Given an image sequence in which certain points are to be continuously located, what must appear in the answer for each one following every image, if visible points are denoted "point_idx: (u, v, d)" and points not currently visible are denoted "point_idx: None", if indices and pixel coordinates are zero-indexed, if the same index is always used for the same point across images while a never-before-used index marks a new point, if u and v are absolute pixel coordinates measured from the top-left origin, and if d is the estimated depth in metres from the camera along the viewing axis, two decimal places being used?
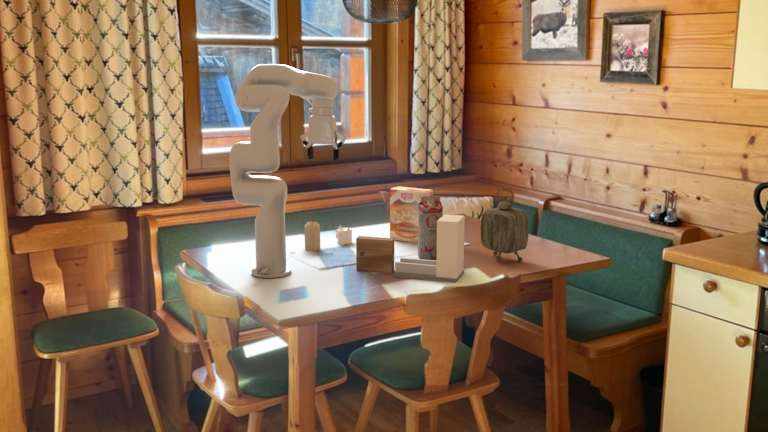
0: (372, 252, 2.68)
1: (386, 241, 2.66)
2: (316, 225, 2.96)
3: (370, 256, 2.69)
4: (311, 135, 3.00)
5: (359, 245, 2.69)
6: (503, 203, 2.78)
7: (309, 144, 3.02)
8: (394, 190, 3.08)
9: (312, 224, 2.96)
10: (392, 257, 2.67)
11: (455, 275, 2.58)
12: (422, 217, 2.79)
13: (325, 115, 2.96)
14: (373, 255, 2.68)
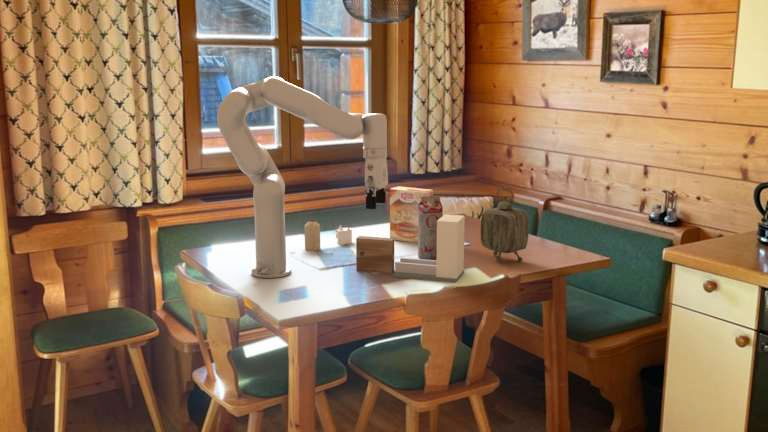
0: (372, 252, 2.68)
1: (386, 241, 2.66)
2: (316, 225, 2.96)
3: (370, 256, 2.69)
4: (380, 180, 2.60)
5: (359, 245, 2.69)
6: (503, 203, 2.78)
7: (374, 192, 2.60)
8: (394, 190, 3.08)
9: (312, 224, 2.96)
10: (392, 257, 2.67)
11: (455, 275, 2.58)
12: (422, 217, 2.79)
13: None
14: (373, 255, 2.68)
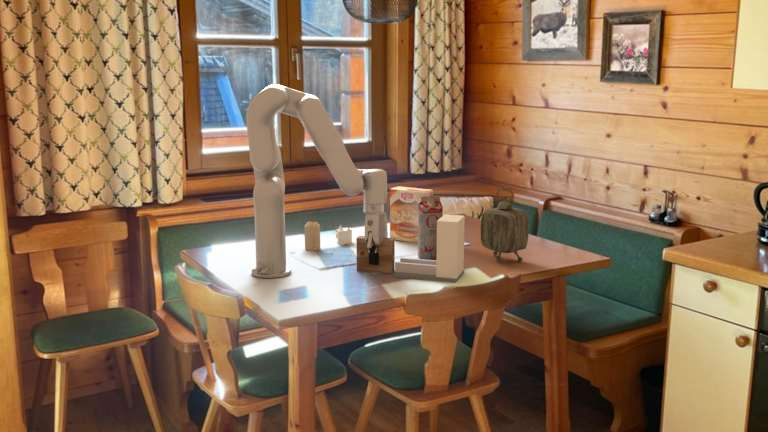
0: None
1: (386, 241, 2.66)
2: (316, 225, 2.96)
3: None
4: (380, 235, 2.64)
5: (359, 245, 2.69)
6: (503, 203, 2.78)
7: (377, 248, 2.67)
8: (394, 190, 3.08)
9: (312, 224, 2.96)
10: (392, 257, 2.67)
11: (455, 275, 2.58)
12: (422, 217, 2.79)
13: None
14: None
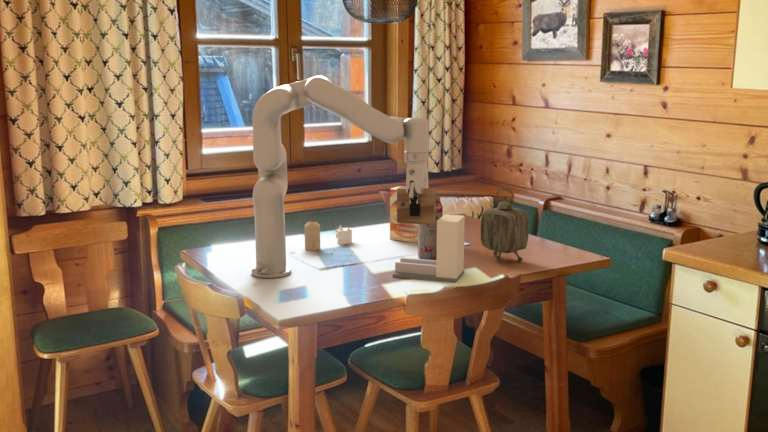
0: None
1: (428, 191, 2.59)
2: (316, 225, 2.96)
3: None
4: (421, 185, 2.57)
5: (400, 195, 2.62)
6: (503, 203, 2.78)
7: None
8: (394, 190, 3.08)
9: (312, 224, 2.96)
10: (434, 207, 2.60)
11: (455, 275, 2.58)
12: None
13: None
14: None
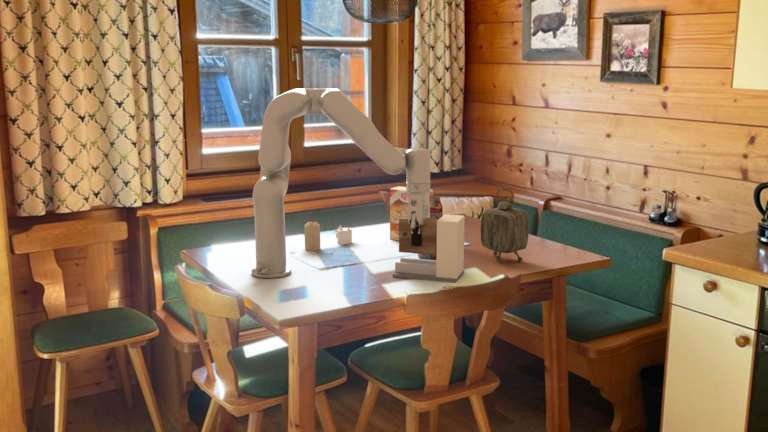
0: None
1: (430, 221, 2.61)
2: (316, 225, 2.96)
3: None
4: (423, 215, 2.59)
5: (402, 225, 2.64)
6: (503, 203, 2.78)
7: (420, 229, 2.62)
8: (394, 190, 3.08)
9: (312, 224, 2.96)
10: (436, 237, 2.62)
11: (455, 275, 2.58)
12: None
13: None
14: None
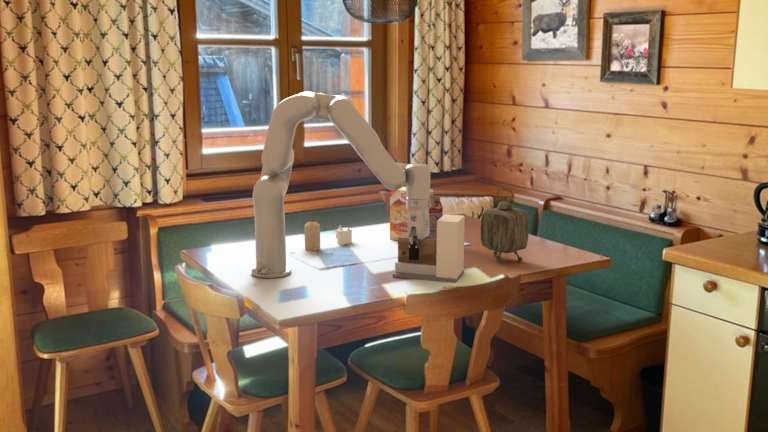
0: None
1: (429, 240, 2.62)
2: (316, 225, 2.96)
3: None
4: (423, 231, 2.60)
5: (401, 244, 2.65)
6: (503, 203, 2.78)
7: (418, 243, 2.61)
8: (394, 190, 3.08)
9: (312, 224, 2.96)
10: (434, 256, 2.63)
11: (455, 275, 2.58)
12: None
13: None
14: None
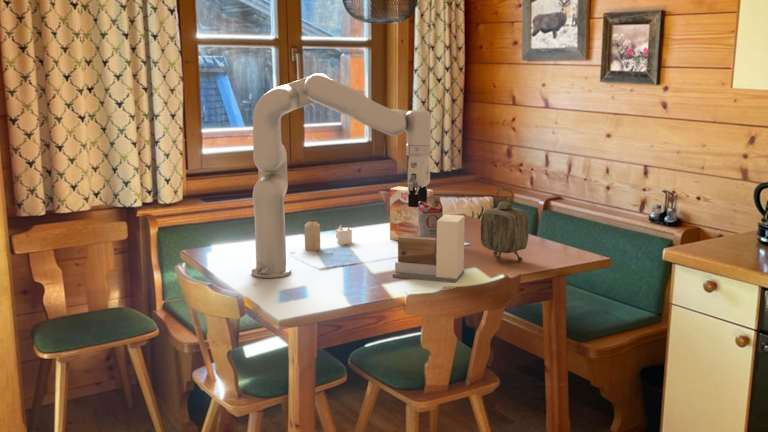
0: (414, 252, 2.65)
1: (429, 240, 2.62)
2: (316, 225, 2.96)
3: (412, 255, 2.65)
4: (423, 178, 2.57)
5: (401, 244, 2.65)
6: (503, 203, 2.78)
7: (417, 189, 2.57)
8: (394, 190, 3.08)
9: (312, 224, 2.96)
10: (434, 256, 2.63)
11: (455, 275, 2.58)
12: (422, 217, 2.79)
13: None
14: (415, 254, 2.65)
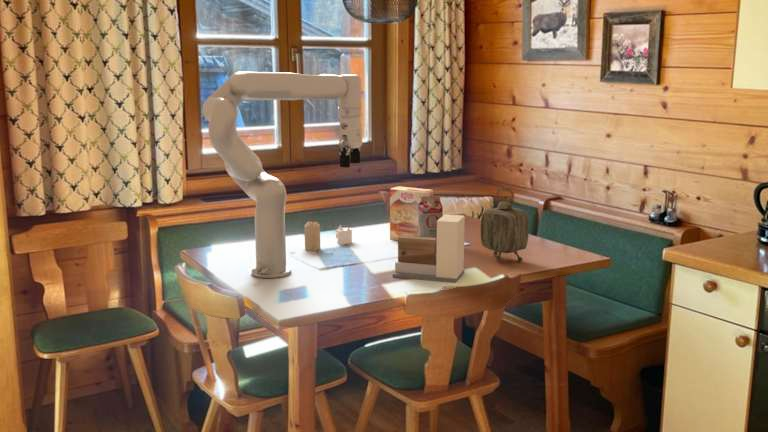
0: (414, 252, 2.65)
1: (429, 240, 2.62)
2: (316, 225, 2.96)
3: (412, 255, 2.65)
4: (354, 139, 2.68)
5: (401, 244, 2.65)
6: (503, 203, 2.78)
7: (348, 150, 2.68)
8: (394, 190, 3.08)
9: (312, 224, 2.96)
10: (434, 256, 2.63)
11: (455, 275, 2.58)
12: (422, 217, 2.79)
13: None
14: (415, 254, 2.65)
